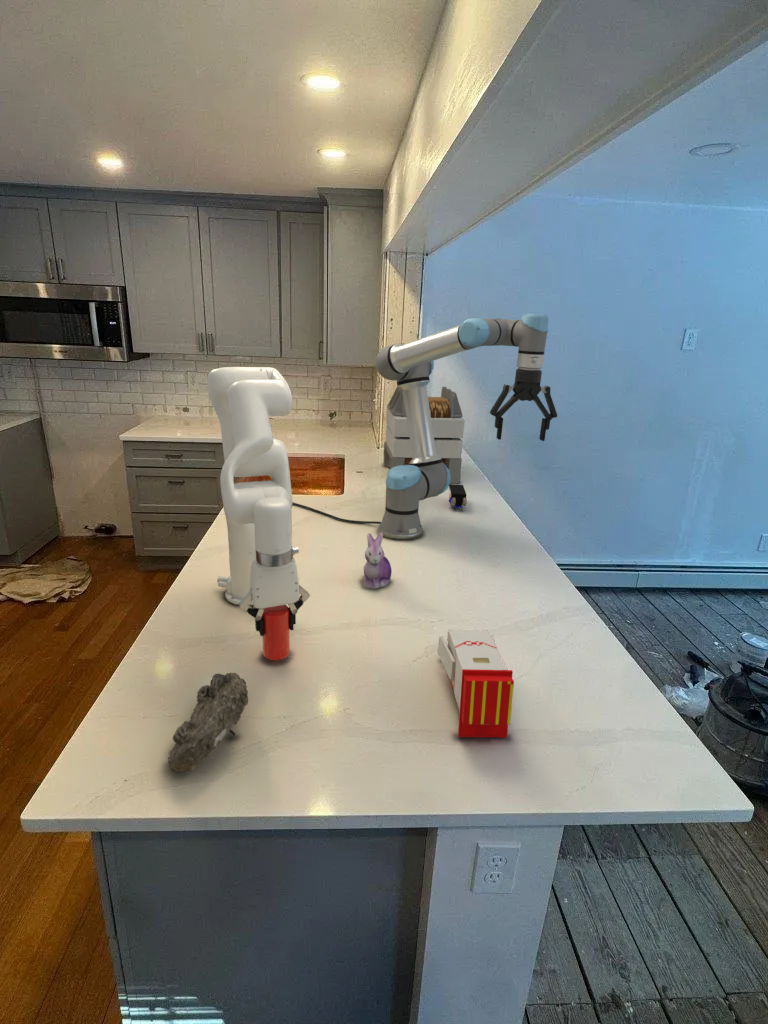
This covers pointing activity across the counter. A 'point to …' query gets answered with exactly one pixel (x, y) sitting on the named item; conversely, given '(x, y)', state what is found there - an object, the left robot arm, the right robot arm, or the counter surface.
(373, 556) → the figurine
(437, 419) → the grey wooden crate
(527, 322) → the right robot arm
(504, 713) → the toy
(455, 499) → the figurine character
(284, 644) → the can
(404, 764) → the counter surface
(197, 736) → the fossil
